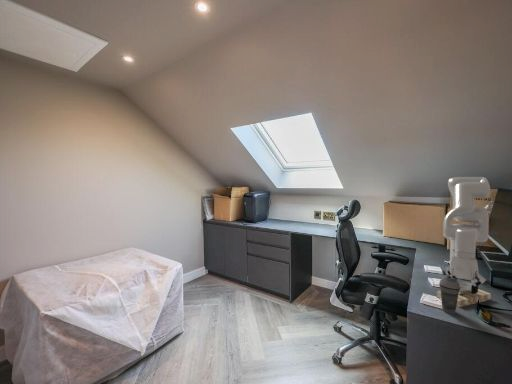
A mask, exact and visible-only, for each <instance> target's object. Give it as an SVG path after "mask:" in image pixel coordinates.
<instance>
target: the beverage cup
mask: <svg viewBox="0 0 512 384" xmlns="http://www.w3.org/2000/svg"><path fill="white" fill-rule="evenodd" d="M453 271H454V268H453V269H452V274H451V277H450V276H449V275H447V276H443V277H441V279H439V284H438V285H439V289H440V291H441V299H440V300H441V301H440V302H441V308H442V311H443V312H444V313H445V314H448V315H455V314H456V313H457V312H456V310H457V300H458V293H459V291H460V285H459V281H458V280H456V279H455V278H453Z"/></svg>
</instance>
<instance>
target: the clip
mask: <svg viewBox="0 0 512 384" xmlns="http://www.w3.org/2000/svg"><path fill="white" fill-rule="evenodd" d="M458 283H459V282H458ZM459 285H460V291H459V293H458V295H460V296H463V292H464V291H465V292H468V293H470V294H472V293H471V286H472V285H473V284H472V282H469V281H466V282H464V281H463V282H460V283H459Z"/></svg>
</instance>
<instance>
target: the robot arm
mask: <svg viewBox="0 0 512 384" xmlns="http://www.w3.org/2000/svg"><path fill="white" fill-rule="evenodd" d="M447 187H448V190H449V192H450V195H451V197H452V209H450V211H448V212H447V213H446V214H445V215H444V218H443V222H442V235H443V237H444V238H445V239H446V240H450V241H449V242H450V245H449V249H450V250H449V261H450V265H448V266H445V271H446V275H447V276H450V277H451V274H452V269H453V268H454V271H453V278H455V279H456V280H457V279H459V280H464V281H465V280H466V281H470V283H472V284H473V285H472V286H471V293H472V294H476V293H477V292H478V289H479V286H480V285H482V284H483V283H485V282H486V281H487V279H486V278H484V276H482V275H481V274H480V273H479V266H478V265H479V264H478V260H477V258H476V248H477V247H476V242H477V243H485V242H487V241H488V240H489V226H490V225H489V219H490V218H489V217H490V216H489V215H490V214H489V212H488V210H487V208H486V207H483V206H476V203H475V201H476V200H475V199H487V198H488V197H490V193H491V186H490V183H489V180H488V179H487V178H486V177H485V176H456V177H450V178H449V179H448V181H447ZM452 219H453V220H454V221H456V222H461V223H453V224H450V222H451V221H452ZM465 223H471V224H465ZM472 223H475V224H472ZM476 224H477V225H476ZM478 279H479V280H478ZM457 281H458V280H457Z"/></svg>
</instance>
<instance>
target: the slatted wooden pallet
mask: <svg viewBox="0 0 512 384" xmlns="http://www.w3.org/2000/svg"><path fill="white" fill-rule="evenodd" d="M491 296H492V294H491V293H489V292H487V291H485V290H482V289H479V288H478V292H477V293H476V294H470V293H468V292H465V291H464V292H463V296H460V295H458V300H457V306H456V308H457V307H458V308H461V307H462V308H463V307H466V306H469V305H473V304H478V303H477V302H478V300H479V303H483V302H487V301H490V300H492V299H491V298H492V297H491ZM437 297H439V298H438V299H440V298H441V290H437V291H436V298H437Z"/></svg>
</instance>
